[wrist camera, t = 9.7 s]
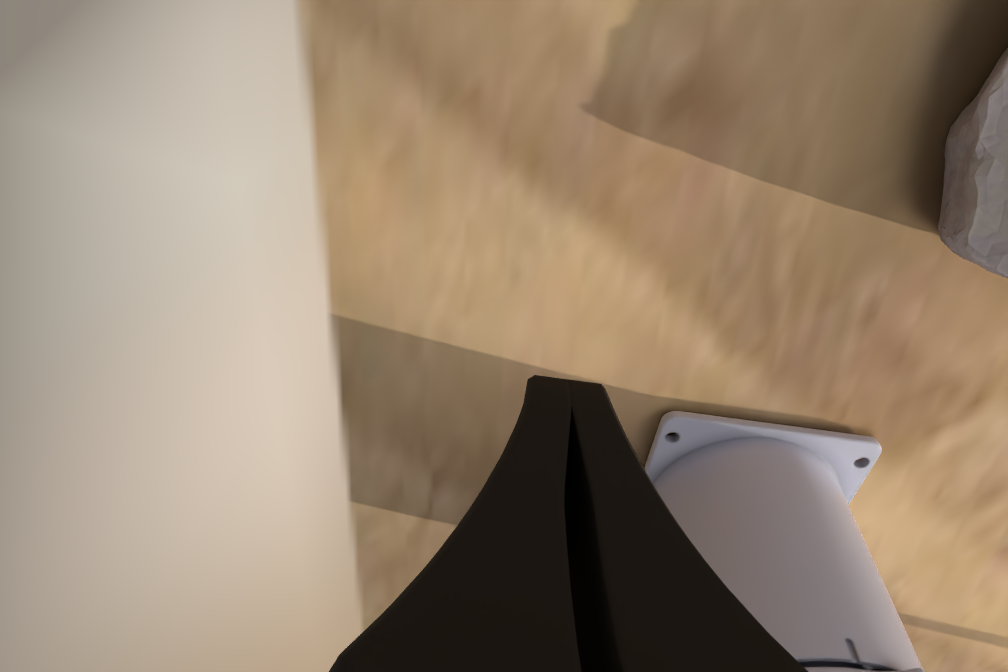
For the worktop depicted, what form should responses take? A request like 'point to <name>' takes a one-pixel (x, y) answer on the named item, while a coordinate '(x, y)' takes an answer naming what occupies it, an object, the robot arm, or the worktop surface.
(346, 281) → the worktop surface
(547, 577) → the robot arm
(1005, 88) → the grey rock
